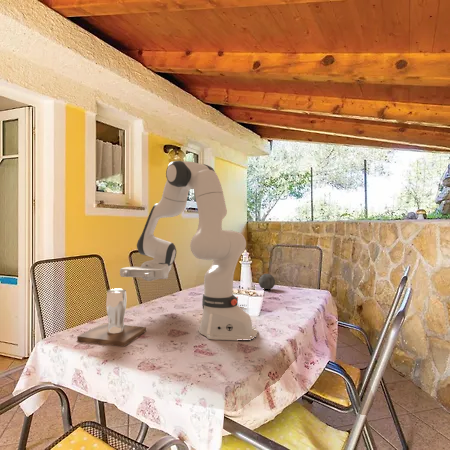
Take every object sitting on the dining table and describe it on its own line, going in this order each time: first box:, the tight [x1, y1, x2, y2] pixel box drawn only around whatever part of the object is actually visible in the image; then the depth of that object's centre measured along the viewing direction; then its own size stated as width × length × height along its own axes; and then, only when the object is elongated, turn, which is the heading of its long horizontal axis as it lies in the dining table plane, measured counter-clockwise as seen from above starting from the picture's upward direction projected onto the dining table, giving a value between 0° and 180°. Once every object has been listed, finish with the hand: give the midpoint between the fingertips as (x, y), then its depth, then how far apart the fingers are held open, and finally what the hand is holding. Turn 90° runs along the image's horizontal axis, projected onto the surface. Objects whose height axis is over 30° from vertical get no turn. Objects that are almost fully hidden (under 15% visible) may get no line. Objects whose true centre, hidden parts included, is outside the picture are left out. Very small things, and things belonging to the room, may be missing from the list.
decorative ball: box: [258, 273, 276, 290], centre depth 209 cm, size 10×10×10 cm
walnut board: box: [76, 322, 147, 347], centre depth 122 cm, size 18×16×2 cm
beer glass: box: [105, 288, 127, 335], centre depth 122 cm, size 7×7×15 cm
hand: (134, 274), depth 136 cm, fingers open, 8 cm apart
